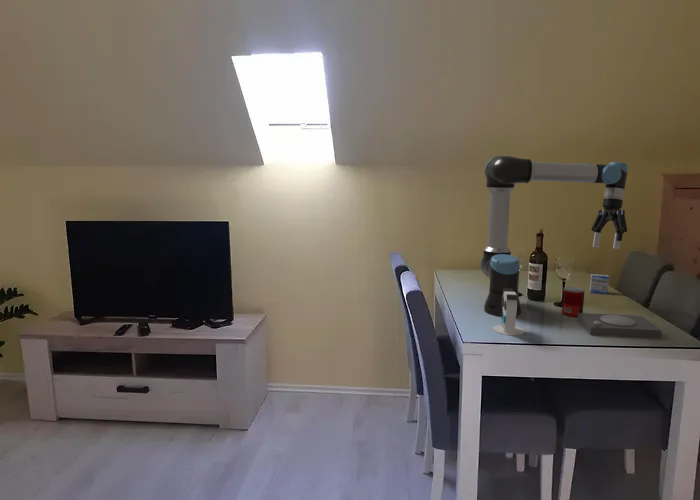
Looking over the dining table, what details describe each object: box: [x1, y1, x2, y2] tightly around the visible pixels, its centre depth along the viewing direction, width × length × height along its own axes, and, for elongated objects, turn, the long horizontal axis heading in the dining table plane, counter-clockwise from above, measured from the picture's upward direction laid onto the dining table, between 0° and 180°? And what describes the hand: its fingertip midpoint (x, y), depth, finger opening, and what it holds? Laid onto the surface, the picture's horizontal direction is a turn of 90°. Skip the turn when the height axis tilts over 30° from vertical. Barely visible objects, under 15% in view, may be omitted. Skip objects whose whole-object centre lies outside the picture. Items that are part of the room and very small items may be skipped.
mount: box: [576, 312, 662, 339], centre depth 200 cm, size 24×18×4 cm
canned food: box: [561, 286, 585, 318], centre depth 217 cm, size 8×8×11 cm
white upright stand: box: [492, 288, 525, 336], centre depth 197 cm, size 12×11×15 cm
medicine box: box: [589, 273, 610, 295], centre depth 253 cm, size 8×4×9 cm, turn 68°
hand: (605, 248), depth 225 cm, fingers open, 13 cm apart
